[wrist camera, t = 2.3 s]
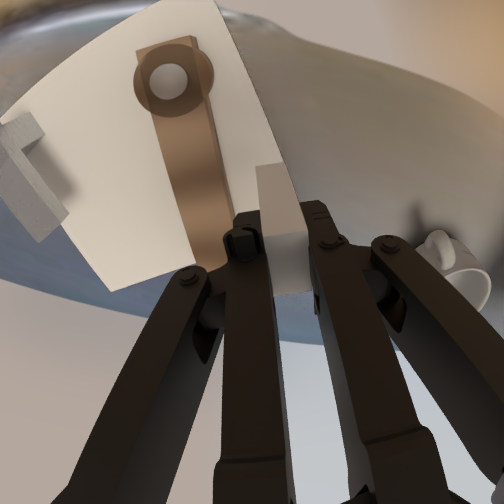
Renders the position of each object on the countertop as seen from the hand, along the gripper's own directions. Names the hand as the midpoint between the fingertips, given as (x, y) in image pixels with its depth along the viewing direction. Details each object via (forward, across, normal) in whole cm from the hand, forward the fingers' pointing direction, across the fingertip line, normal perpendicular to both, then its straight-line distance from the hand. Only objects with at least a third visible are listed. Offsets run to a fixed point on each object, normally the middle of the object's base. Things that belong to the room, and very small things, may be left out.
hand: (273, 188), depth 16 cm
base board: (+12, +11, 0) cm, 17 cm away
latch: (+11, +6, +1) cm, 12 cm away
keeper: (+13, +21, -3) cm, 24 cm away
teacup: (+12, -18, +16) cm, 27 cm away
